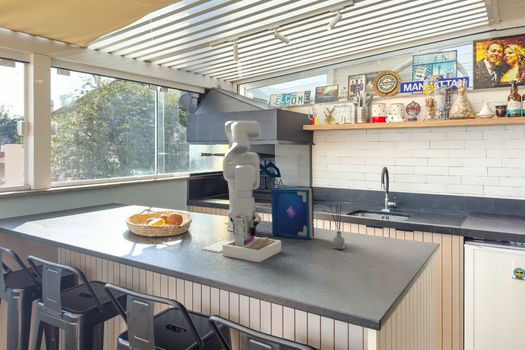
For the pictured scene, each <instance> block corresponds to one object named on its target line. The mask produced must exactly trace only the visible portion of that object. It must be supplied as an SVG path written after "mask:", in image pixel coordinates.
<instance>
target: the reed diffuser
mask: <svg viewBox="0 0 525 350" xmlns="http://www.w3.org/2000/svg"><path fill="white" fill-rule="evenodd" d="M329 207H330V211H331V213H332V217H333V220H334V223H335V226H336V230H337V232H336V235H335V237H333V241H332V242H333V243H332V245H333V248H334V249H338V250H343V249H344V248H345V246H346V242H345V239H344V237H342V232H341V222H339V220H341V215H342V213H341V211H342V203H340V206H339V204H337V206H335V212H336V215H337V218H335V216H334V213H333V209H332V206H331V205H329ZM339 207H340V208H339ZM338 209H339V211H338Z"/></svg>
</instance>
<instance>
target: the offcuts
mask: <svg viewBox="0 0 525 350" xmlns="http://www.w3.org/2000/svg"><path fill="white" fill-rule="evenodd" d="M260 238H261V239H258V240H256V241H253V242H251V243H248V248H249V249H255V250H259V249H261V248H264V247H266V246H268V245H270V244H272V243H274V241H271V240H269V239H270V238H269V237H265V236H264V237H260Z"/></svg>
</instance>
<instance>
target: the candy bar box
mask: <svg viewBox="0 0 525 350" xmlns="http://www.w3.org/2000/svg"><path fill="white" fill-rule="evenodd" d="M250 227H251V225H250V223H249V222H247V221H246V216H240V215H237V216H235V217H234V231H233V234H234V233H235V234H234V240H235V246H237V247H243V246H246V245H248V243H251V242H253V241H254V237H255V236H252V237H251V236H250Z"/></svg>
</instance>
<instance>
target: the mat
mask: <svg viewBox="0 0 525 350" xmlns="http://www.w3.org/2000/svg"><path fill="white" fill-rule="evenodd" d="M229 242H231V240H220V241H218V242H215V243H212V244H209V245H207V246H203V247H201V251H207V252H210V253H211V252H212V253H217V254H220V253H223V244H226V243H229Z"/></svg>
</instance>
